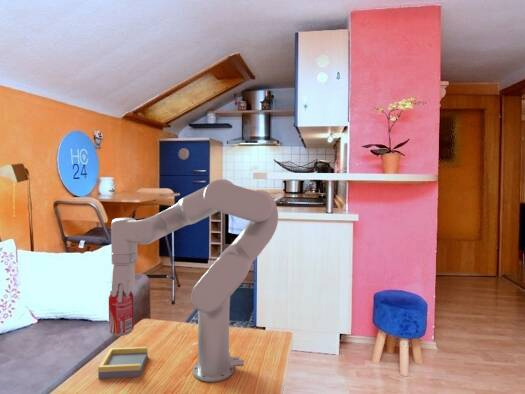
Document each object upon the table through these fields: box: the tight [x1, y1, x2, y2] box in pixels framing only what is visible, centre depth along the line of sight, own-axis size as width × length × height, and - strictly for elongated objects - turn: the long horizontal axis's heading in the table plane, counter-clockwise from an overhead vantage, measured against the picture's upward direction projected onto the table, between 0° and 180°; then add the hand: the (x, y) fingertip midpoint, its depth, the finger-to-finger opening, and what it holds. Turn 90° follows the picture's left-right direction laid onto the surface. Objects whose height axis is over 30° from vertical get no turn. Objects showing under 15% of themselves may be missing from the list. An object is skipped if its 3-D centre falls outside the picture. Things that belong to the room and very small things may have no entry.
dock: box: [97, 346, 149, 380], centre depth 118 cm, size 12×12×4 cm
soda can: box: [108, 290, 135, 337], centre depth 115 cm, size 7×7×13 cm
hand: (125, 315), depth 117 cm, fingers closed on soda can, 2 cm apart
